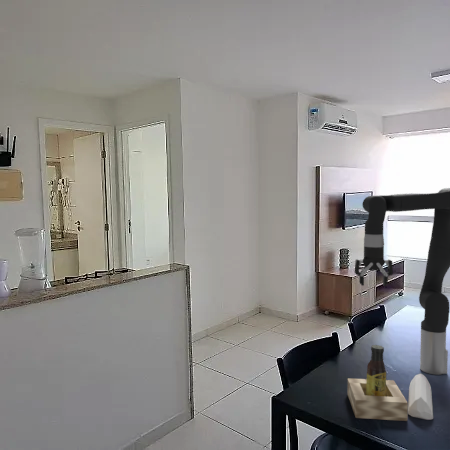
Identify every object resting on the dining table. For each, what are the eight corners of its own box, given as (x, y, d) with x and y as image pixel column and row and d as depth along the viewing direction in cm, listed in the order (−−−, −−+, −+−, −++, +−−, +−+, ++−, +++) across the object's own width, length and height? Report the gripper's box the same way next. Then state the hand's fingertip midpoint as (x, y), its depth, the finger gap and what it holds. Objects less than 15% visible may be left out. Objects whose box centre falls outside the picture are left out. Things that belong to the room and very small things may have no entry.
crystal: (440, 413, 127) (437, 382, 148) (418, 398, 129) (418, 369, 151) (426, 430, 129) (425, 397, 150) (405, 415, 131) (407, 384, 153)
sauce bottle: (376, 410, 134) (377, 351, 133) (361, 402, 140) (362, 345, 138) (390, 405, 137) (391, 348, 136) (375, 397, 142) (376, 342, 141)
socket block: (393, 396, 145) (393, 380, 145) (407, 420, 129) (407, 402, 129) (347, 394, 147) (347, 378, 147) (355, 417, 131) (355, 399, 131)
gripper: (389, 244, 165) (389, 283, 166) (353, 244, 167) (353, 283, 168) (395, 246, 157) (394, 287, 158) (357, 246, 159) (356, 287, 160)
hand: (373, 285), depth 163 cm, fingers open, 8 cm apart
